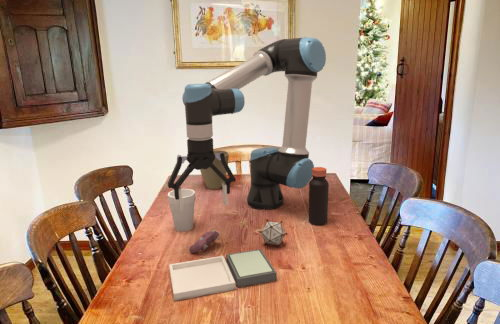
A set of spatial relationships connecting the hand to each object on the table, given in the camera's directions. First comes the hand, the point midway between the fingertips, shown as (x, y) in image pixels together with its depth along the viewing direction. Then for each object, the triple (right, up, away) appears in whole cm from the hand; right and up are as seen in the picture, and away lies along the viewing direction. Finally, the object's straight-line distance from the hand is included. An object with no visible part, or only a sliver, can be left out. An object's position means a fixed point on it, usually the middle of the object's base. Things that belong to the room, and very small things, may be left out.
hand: (203, 206), depth 115 cm
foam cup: (-9, -10, +19) cm, 24 cm away
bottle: (+39, -8, +21) cm, 45 cm away
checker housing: (+14, -17, -9) cm, 24 cm away
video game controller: (0, -14, +4) cm, 15 cm away
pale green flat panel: (+14, -15, -10) cm, 23 cm away
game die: (+22, -13, +6) cm, 26 cm away
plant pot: (-3, +2, +62) cm, 63 cm away
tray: (+1, -18, -13) cm, 22 cm away
